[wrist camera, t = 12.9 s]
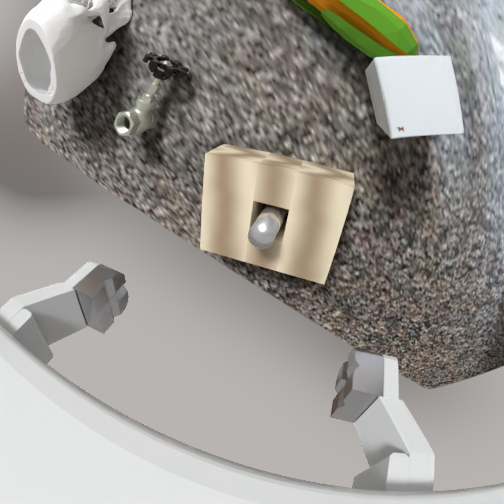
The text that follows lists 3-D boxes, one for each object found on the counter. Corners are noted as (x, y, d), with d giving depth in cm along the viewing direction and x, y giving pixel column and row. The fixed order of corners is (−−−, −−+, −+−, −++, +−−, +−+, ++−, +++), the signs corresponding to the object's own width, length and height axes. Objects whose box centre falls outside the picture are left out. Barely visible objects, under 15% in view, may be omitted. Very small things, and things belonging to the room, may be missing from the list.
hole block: (353, 173, 36) (354, 187, 31) (328, 260, 44) (324, 284, 39) (224, 144, 39) (205, 153, 35) (216, 230, 47) (200, 248, 42)
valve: (159, 138, 42) (197, 72, 35) (133, 148, 37) (172, 72, 30) (131, 117, 41) (164, 52, 34) (103, 125, 36) (136, 51, 29)
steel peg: (291, 196, 41) (275, 228, 33) (288, 215, 42) (271, 251, 34) (270, 192, 41) (249, 222, 33) (267, 211, 43) (246, 245, 35)
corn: (402, 78, 22) (242, -29, 20) (388, 83, 29) (259, -8, 26) (441, 35, 18) (283, -68, 16) (422, 47, 25) (293, -42, 23)
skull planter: (158, -29, 25) (40, 14, 17) (146, 68, 43) (63, 128, 35) (102, -36, 25) (1, 8, 16) (100, 49, 42) (23, 101, 34)
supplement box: (430, 120, 29) (465, 137, 19) (375, 124, 32) (389, 141, 22) (419, 64, 26) (452, 54, 16) (363, 68, 29) (371, 57, 19)
